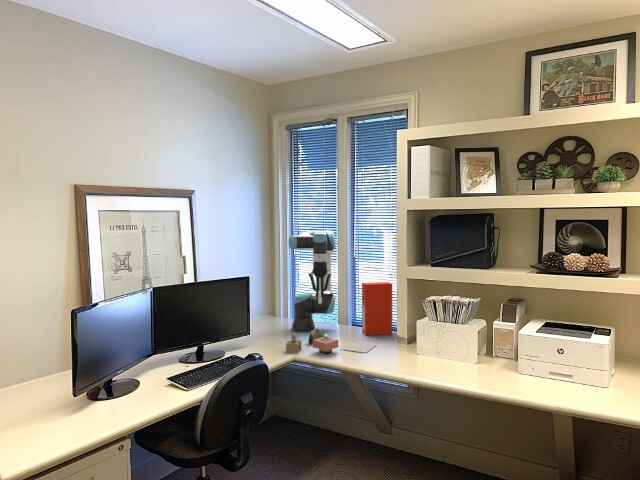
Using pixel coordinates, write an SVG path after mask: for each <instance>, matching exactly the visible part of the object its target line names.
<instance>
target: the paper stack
mask: <svg viewBox="0 0 640 480" xmlns="http://www.w3.org/2000/svg"><path fill="white" fill-rule="evenodd" d="M375 346H377V344H373V343H364V342H357V341H353V342H352V343H350V344H349V345H347V346H345V347H344V348H342V350H344V351H350V352H358V353H366V354H367V352H369V351H370V350H372V349H373V348H374V347H375Z"/></svg>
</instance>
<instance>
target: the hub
mask: <svg viewBox="0 0 640 480" xmlns="http://www.w3.org/2000/svg"><path fill="white" fill-rule="evenodd" d="M323 335H324V338H323V341H325V342H326V341H329V338H330V337H329V338H328V334H327V333H324V334H323ZM318 352H319V354H320V355H330V354H333V349H331V350H327V351H324V350H321V349H318Z"/></svg>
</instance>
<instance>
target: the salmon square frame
mask: <svg viewBox="0 0 640 480" xmlns="http://www.w3.org/2000/svg"><path fill="white" fill-rule="evenodd" d="M323 338H324V337H322V338H318V339H315V340H313V343H312V348H314V349H318V350H319V349H321V350H324V351H327V350H331V349H332V350H334V349H336V348H339V339H336V338H333V337H328V338H329V341H326V342H325V341H323Z"/></svg>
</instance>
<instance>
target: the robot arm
mask: <svg viewBox="0 0 640 480" xmlns="http://www.w3.org/2000/svg"><path fill="white" fill-rule="evenodd" d="M288 247H289V249H290V250H291V249H292V250H293V249H294V250H298V249H299V250H303V249H304V250H305V249H307V250H310V249H311V250H312V252H313V253H312V261H313V262H312V271H311V272H309V273H308V276H309V278H310V279H309V280H310V282H311V286H312V290H313V291H315V295H313V293H312V292H304V293H300V294H297V295H295V297H294V302H293V304H294V305H293V306H294V318H293V321H292V325H291V330H292V331H293V332H296V333H297V332H299V333H309V332H310V333H311V331H312V330H314V329H316V325H315V322H314V319H313V314H317V315H327V314H328V315H329V314H333V313H334V310H335V303H336V295H334V292H333V291H332V253H333V252H334V249H336V239H335V232H334V231H333V230H306V231H303V232H300V233H299V234H297V235H290V236H288ZM314 277H315V278H314Z"/></svg>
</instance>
